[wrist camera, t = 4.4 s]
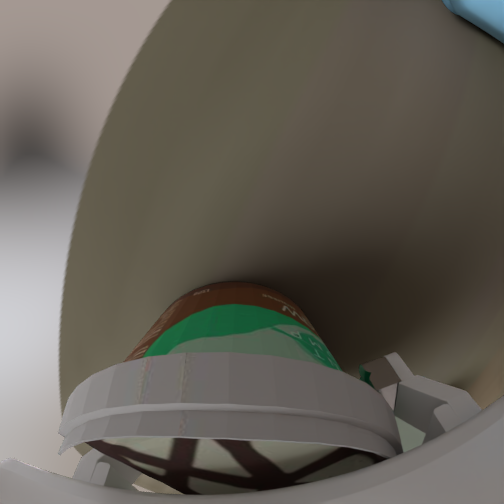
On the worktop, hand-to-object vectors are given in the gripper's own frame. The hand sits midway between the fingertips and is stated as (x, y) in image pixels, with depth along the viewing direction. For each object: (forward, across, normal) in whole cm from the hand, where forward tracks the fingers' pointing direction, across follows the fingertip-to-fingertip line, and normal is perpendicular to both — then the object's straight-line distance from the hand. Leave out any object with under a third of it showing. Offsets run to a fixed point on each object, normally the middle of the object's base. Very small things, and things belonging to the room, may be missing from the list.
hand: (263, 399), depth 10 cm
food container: (+6, 0, 0) cm, 6 cm away
